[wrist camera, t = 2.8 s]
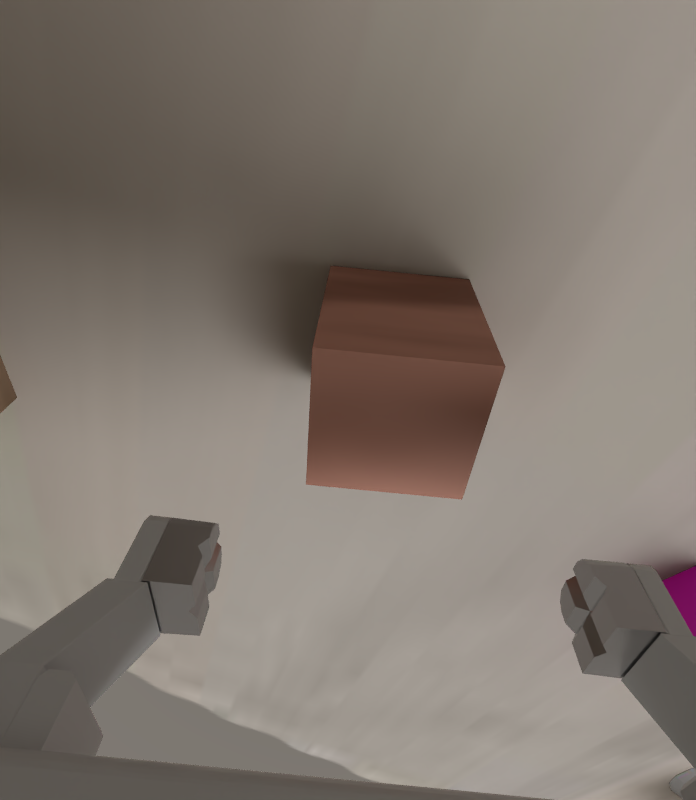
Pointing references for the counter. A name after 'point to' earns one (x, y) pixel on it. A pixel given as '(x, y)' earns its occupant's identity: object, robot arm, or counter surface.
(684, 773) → the french press
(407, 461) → the reddish brown cube
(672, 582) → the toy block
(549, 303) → the counter surface
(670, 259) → the counter surface
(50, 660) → the robot arm
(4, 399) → the tower base
